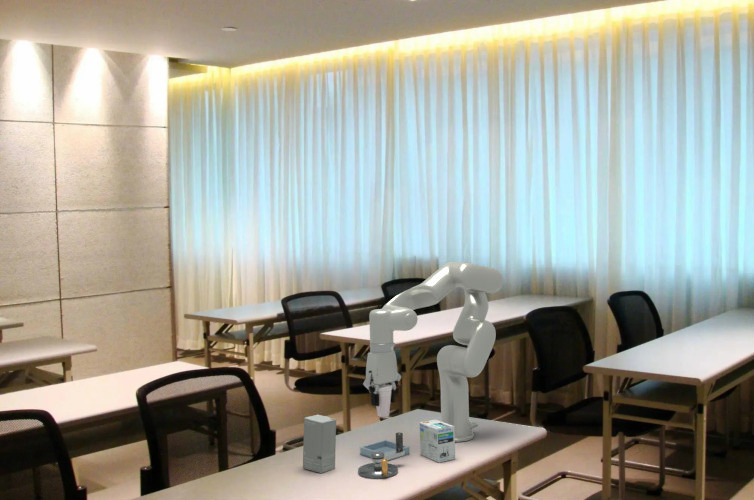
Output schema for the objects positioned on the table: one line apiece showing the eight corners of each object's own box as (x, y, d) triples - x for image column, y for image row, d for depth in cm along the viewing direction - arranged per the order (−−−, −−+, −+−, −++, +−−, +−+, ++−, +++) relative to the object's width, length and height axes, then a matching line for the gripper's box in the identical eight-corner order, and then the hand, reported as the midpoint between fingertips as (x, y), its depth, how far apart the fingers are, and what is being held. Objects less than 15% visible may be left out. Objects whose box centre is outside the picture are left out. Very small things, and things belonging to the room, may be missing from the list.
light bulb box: (456, 459, 253) (455, 425, 252) (438, 463, 249) (437, 429, 249) (436, 451, 262) (435, 418, 262) (419, 454, 259) (418, 421, 258)
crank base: (379, 463, 251) (379, 445, 251) (406, 472, 242) (406, 454, 241) (350, 472, 243) (349, 454, 243) (376, 482, 234) (376, 463, 234)
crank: (377, 464, 240) (376, 442, 239) (368, 461, 243) (367, 439, 242) (406, 455, 247) (406, 433, 247) (397, 452, 250) (397, 431, 250)
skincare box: (302, 468, 248) (300, 418, 247) (318, 463, 253) (317, 413, 252) (321, 474, 242) (320, 422, 241) (338, 468, 248) (336, 417, 247)
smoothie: (391, 418, 255) (390, 374, 254) (371, 417, 257) (370, 374, 256) (394, 413, 261) (393, 370, 261) (375, 412, 263) (374, 370, 262)
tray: (386, 447, 268) (385, 439, 267) (409, 454, 259) (409, 446, 259) (360, 454, 260) (360, 447, 260) (383, 462, 252) (383, 454, 252)
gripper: (393, 343, 266) (394, 397, 267) (353, 350, 255) (354, 406, 256) (409, 345, 261) (410, 400, 262) (369, 352, 249) (370, 410, 250)
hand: (383, 403), depth 259 cm, fingers closed on smoothie, 6 cm apart
